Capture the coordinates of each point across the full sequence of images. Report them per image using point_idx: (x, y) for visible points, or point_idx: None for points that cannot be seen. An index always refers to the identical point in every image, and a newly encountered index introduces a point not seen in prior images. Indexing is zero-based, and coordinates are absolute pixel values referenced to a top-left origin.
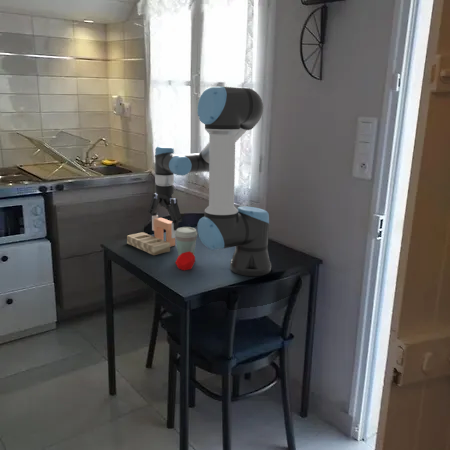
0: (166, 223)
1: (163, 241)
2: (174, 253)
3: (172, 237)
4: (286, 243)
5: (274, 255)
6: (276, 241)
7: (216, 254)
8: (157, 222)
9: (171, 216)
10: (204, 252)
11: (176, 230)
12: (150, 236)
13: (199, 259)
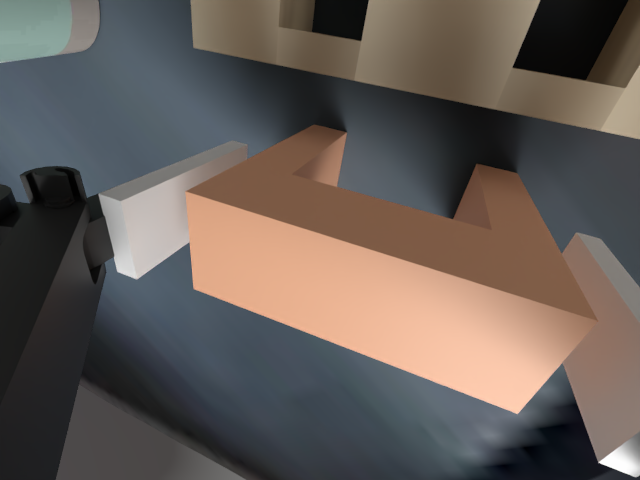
0: (236, 205)
1: (263, 36)
2: (185, 33)
3: (229, 142)
4: (91, 391)
5: None
6: (116, 399)
7: None
8: (477, 258)
9: (27, 259)
10: (120, 181)
11: None
12: (508, 74)
13: (38, 62)
